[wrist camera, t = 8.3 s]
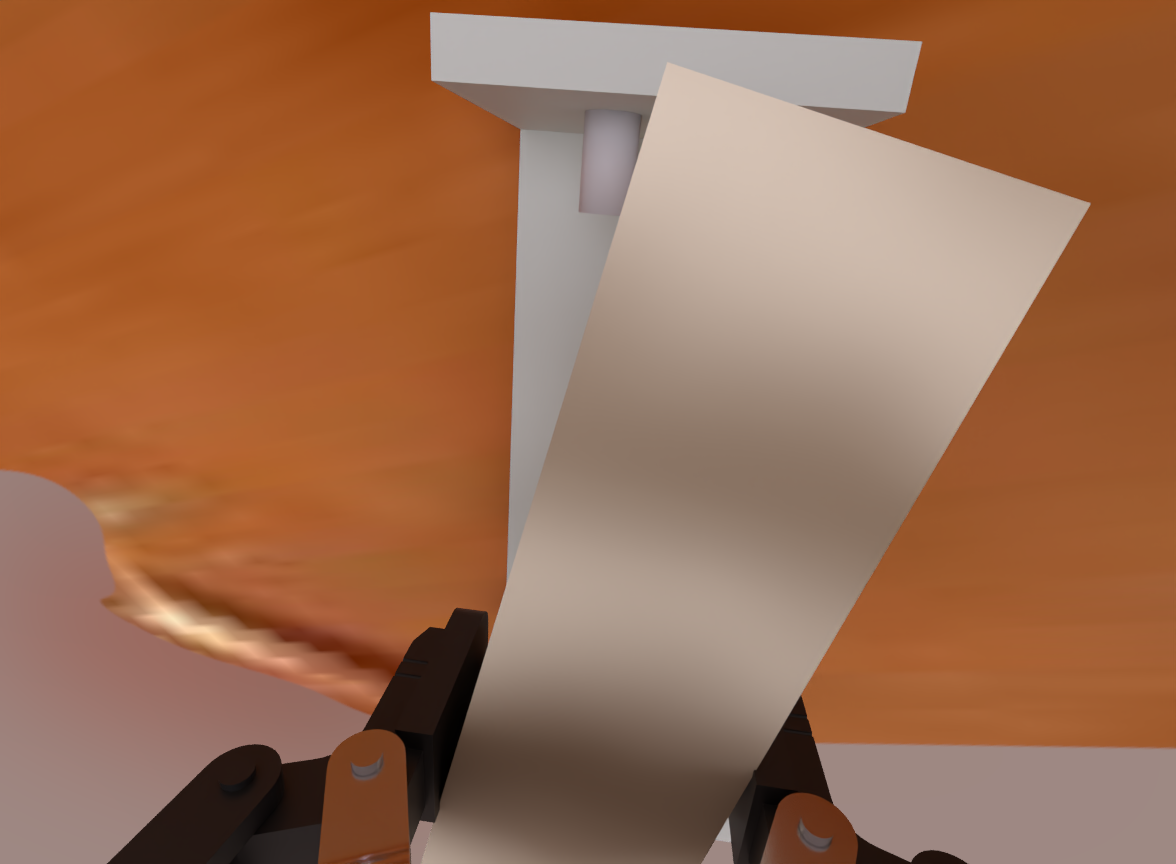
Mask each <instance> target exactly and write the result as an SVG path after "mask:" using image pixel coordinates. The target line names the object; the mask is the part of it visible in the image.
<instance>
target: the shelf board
mask: <svg viewBox="0 0 1176 864" xmlns="http://www.w3.org/2000/svg"><path fill="white" fill-rule="evenodd" d="M1090 204H1091V203H1088V202H1085V201H1082V200H1079V199H1076V198H1073V197H1070V196H1067V195H1064V194H1061V193H1058V192H1055V191H1052V190H1049V189H1046V188H1043V187H1040V186H1037V185H1034V184H1031V183H1028V182H1025V181H1022V180H1019V179H1016V178H1013V177H1010V176H1007V175H1004V174H1001V173H998V172H995V171H992V170H989V169H986V168H983V167H980V166H977V165H974V164H971V163H968V162H965V161H962V160H959V159H956V158H953V157H950V156H947V155H944V154H941V153H938V152H935V151H932V150H929V149H926V148H923V147H920V146H917V145H914V144H911V143H908V142H905V141H902V140H899V139H896V138H893V137H890V136H887V135H884V134H881V133H878V132H875V131H872V130H869V129H866V128H863V127H860V126H857V125H854V124H851V123H848V122H845V121H842V120H839V119H836V118H833V117H830V116H827V115H824V114H821V113H818V112H815V111H812V110H809V109H806V108H803V107H800V106H797V105H794V104H791V103H788V102H785V101H782V100H779V99H776V98H773V97H770V96H767V95H764V94H761V93H758V92H755V91H752V90H749V89H746V88H743V87H740V86H738V85H735V84H732V83H729V82H726V81H723V80H720V79H717V78H714V77H711V76H708V75H705V74H702V73H699V72H696V71H693V70H690V69H687V68H684V67H681V66H678V65H675V64H672V63H669V62H667V64H666V68H665V71H664V74H663V77H662V81H661V84H660V87H659V90H658V94H657V97H656V100H655V103H654V107H653V110H652V113H651V116H650V120H649V123H648V126H647V129H646V133H645V136H644V139H643V142H642V146H641V149H640V152H639V156H638V159H637V162H636V165H635V169H634V172H633V175H632V178H631V182H630V185H629V188H628V191H627V195H626V198H625V201H624V204H623V208H622V211H621V214H620V217H619V221H618V224H617V227H616V230H615V234H614V237H613V240H612V243H611V247H610V250H609V253H608V256H607V260H606V263H605V266H604V269H603V273H602V276H601V279H600V282H599V286H598V289H597V292H596V295H595V299H594V302H593V305H592V308H591V312H590V315H589V318H588V321H587V325H586V328H585V331H584V334H583V338H582V341H581V344H580V348H579V351H578V354H577V357H576V361H575V364H574V367H573V370H572V374H571V377H570V380H569V383H568V387H567V390H566V393H565V396H564V400H563V403H562V406H561V409H560V413H559V416H558V419H557V422H556V426H555V429H554V432H553V435H552V439H551V442H550V445H549V448H548V452H547V455H546V458H545V461H544V465H543V468H542V471H541V474H540V478H539V481H538V484H537V487H536V491H535V494H534V497H533V500H532V504H531V507H530V510H529V513H528V517H527V520H526V523H525V527H524V530H523V533H522V536H521V540H520V543H519V546H518V549H517V553H516V556H515V559H514V562H513V566H512V569H511V572H510V575H509V579H508V582H507V585H506V588H505V592H504V595H503V598H502V601H501V605H500V608H499V611H498V614H497V618H496V621H495V624H494V627H493V631H492V634H491V637H490V640H489V644H488V647H487V650H486V653H485V657H484V660H483V663H482V666H481V670H480V673H479V676H478V679H477V683H476V686H475V689H474V692H473V696H472V699H471V702H470V705H469V709H468V712H467V715H466V719H465V722H464V725H463V728H462V732H461V735H460V738H459V741H458V745H457V748H456V751H455V754H454V758H453V761H452V764H451V767H450V771H449V774H448V777H447V780H446V784H445V787H444V790H443V793H442V797H441V800H440V810H439V813H438V816H437V819H436V822H435V823H433V826H432V829H431V832H430V836H429V839H428V842H427V846H426V849H425V852H424V855H423V859H422V862H421V864H701V863H702V861H703V860H704V858H705V856H706V854H707V853H708V851H709V849H710V848H711V846H712V844H713V843H714V841H715V839H716V838H717V836H718V834H719V832H720V831H721V829H722V827H723V826H724V824H725V822H726V821H727V819H728V817H729V816H730V814H731V812H732V810H733V809H734V807H735V805H736V804H737V802H738V800H739V799H740V797H741V795H742V794H743V792H744V790H745V788H746V787H747V785H748V783H749V782H750V780H751V778H752V775H753V771H754V770H757V768H758V766H759V765H760V763H761V761H762V760H763V758H764V756H765V755H766V753H767V751H768V750H769V748H770V746H771V744H772V743H773V741H774V739H775V738H776V736H777V734H778V733H779V731H780V729H781V727H782V726H783V724H784V722H785V721H786V719H787V717H788V716H789V714H790V712H791V711H792V709H793V707H794V705H795V704H796V702H797V700H798V699H799V697H800V695H801V694H802V692H803V690H804V689H805V687H806V685H807V683H808V682H809V680H810V678H811V677H812V675H813V673H814V672H815V670H816V668H817V667H818V665H819V663H820V661H821V660H822V658H823V656H824V655H825V653H826V651H827V650H828V648H829V646H830V645H831V643H832V641H833V639H834V638H835V636H836V634H837V633H838V631H839V629H840V628H841V626H842V624H843V623H844V621H845V619H846V617H847V616H848V614H849V612H850V611H851V609H852V607H853V606H854V604H855V602H856V600H857V599H858V597H859V595H860V594H861V592H862V590H863V589H864V587H865V585H866V584H867V582H868V580H869V578H870V577H871V575H872V573H873V572H874V570H875V568H876V567H877V565H878V563H879V562H880V560H881V558H882V556H883V555H884V553H885V551H886V550H887V548H888V546H889V545H890V543H891V541H892V540H893V538H894V536H895V534H896V533H897V531H898V529H899V528H900V526H901V524H902V523H903V521H904V519H905V518H906V516H907V514H908V512H909V511H910V509H911V507H912V506H913V504H914V502H915V501H916V499H917V497H918V496H919V494H920V492H921V490H922V489H923V487H924V485H925V484H926V482H927V480H928V479H929V477H930V475H931V474H932V472H933V470H934V468H935V467H936V465H937V463H938V462H939V460H940V458H941V457H942V455H943V453H944V451H945V450H946V448H947V446H948V445H949V443H950V441H951V440H952V438H953V436H954V435H955V433H956V431H957V429H958V428H959V426H960V424H961V423H962V421H963V419H964V418H965V416H966V414H967V413H968V411H969V409H970V407H971V406H972V404H973V402H974V401H975V399H976V397H977V396H978V394H979V392H980V391H981V389H982V387H983V385H984V384H985V382H986V380H987V379H988V377H989V375H990V374H991V372H992V370H993V369H994V367H995V365H996V363H997V362H998V360H999V358H1000V357H1001V355H1002V353H1003V352H1004V350H1005V348H1006V347H1007V345H1008V343H1009V341H1010V340H1011V338H1012V336H1013V335H1014V333H1015V331H1016V330H1017V328H1018V326H1019V324H1020V323H1021V321H1022V319H1023V318H1024V316H1025V314H1026V313H1027V311H1028V309H1029V308H1030V306H1031V304H1032V302H1033V301H1034V299H1035V297H1036V296H1037V294H1038V292H1039V291H1040V289H1041V287H1042V286H1043V284H1044V282H1045V280H1046V279H1047V277H1048V275H1049V274H1050V272H1051V270H1052V269H1053V267H1054V265H1055V264H1056V262H1057V260H1058V258H1059V257H1060V255H1061V253H1062V252H1063V250H1064V248H1065V247H1066V245H1067V243H1068V242H1069V240H1070V238H1071V236H1072V235H1073V233H1074V231H1075V230H1076V228H1077V226H1078V225H1079V223H1080V221H1081V220H1082V218H1083V216H1084V214H1085V213H1086V211H1087V209H1088V208H1089V206H1090Z"/></svg>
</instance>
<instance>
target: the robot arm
mask: <svg viewBox="0 0 1176 864" xmlns="http://www.w3.org/2000/svg"><path fill="white" fill-rule="evenodd" d="M487 647H488V613H487V612H485V611H477V610H470V609H462V608H456V609H455V610H454V612H453V613H452V615H451V617H450V619H449V621H448V623H447V626H446V628H445V629H441V628H433V627H429V628H428V629H427V630H426V631H425V632H423V633H422V634H421V635H420V636H418V637H417V638H416V639H415V640H414V641H413V642H412V644H411V645H410V647H409V649H408V651H407V653H406V654H405V656H404V658H403V662H401V663H400V665H399V667H398V669H397V671H396V673H395V676H393V678H392V680H391V681H390V683H389V685H388V687H387V689H386V690H385V692H384V694H383V696H382V698H381V699H380V701H379V703H378V705H377V707H376V708H375V710H374V712H373V714H372V716H371V717H370V719H369V721H368V723H367V725H366V727H365V728H364V730H363V731H362V732H359V733H357V734H354V735H353V736H351V737H349V738H347V739H346V740H345V741H343V742H342V743H341V744H340V745H339V746H338V747H337V748H336V749H335V750H334V752H333V753H332V755H329V756H326V757H323V758H319V759H313V760H306V761H299V762H292V763H285V764H282V763H281V759H280V756H279V754H278V753H277V752H276V751H275V750H273V749H272V748H270V747H268V746H265V745H256V744H254V745H245V746H241V747H238V748H235V749H232V750H230V751H228V752H226V753H224V754H222V755H220V756H219V757H217V758H216V759H214V760H213V761H212V762H211V763H210V764H209V765H207V766H206V767H205V768H204V769H203V770H202V771H201V772H200V773H199V774H198V775H197V776H196V777H195V778H194V779H193V780H192V781H191V782H190V783H189V784H188V785H187V786H186V787H185V788H184V789H183V790H182V791H181V792H180V793H179V794H178V795H177V796H176V797H175V798H174V799H173V800H172V801H171V802H170V803H169V804H167V806H165V808H164V809H162V811H161V812H159V813H158V814H157V816H155V817H154V818H153V819H152V820H151V821H150V822H149V823H148V824H147V825H146V826H145V827H144V828H143V829H142V830H141V831H140V832H139V833H138V834H137V835H136V836H135V837H134V838H133V839H132V840H131V841H130V842H129V843H128V844H127V845H126V846H125V847H124V848H123V849H122V850H121V851H120V852H119V853H118V854H117V855H116V856H114V857H113V858H112V859H111V860H110V862H108V863H107V864H411V849H410V844H411V842H412V839H413V837H414V834H415V832H416V829H417V826H418V824H419V821H420V820H421V821H427V822H433V823H435V822H436V819H437V816H438V813H439V810H440V800H441V797H442V793H443V790H444V787H445V784H446V780H447V777H448V774H449V771H450V767H451V764H452V761H453V758H454V754H455V751H456V748H457V745H458V741H459V738H460V735H461V732H462V728H463V725H464V722H465V719H466V715H467V712H468V709H469V705H470V702H471V699H472V696H473V692H474V689H475V686H476V683H477V679H478V676H479V673H480V670H481V666H482V663H483V660H484V657H485V653H486V650H487ZM728 818H729V827H730V835H731V843H732V852H733V861H734V864H967V863H966V862H964V861H963V860H961V859H959V858H957V857H955V856H953V855H951V854H948V853H945V852H941V851H934V850H930V851H923V852H921V853H919V854H917V855H916V856H915V857H914V858H913V860H912V862H908V861H906V860H904V859H902V858H900V857H898V856H895V855H893V854H891V853H889V852H886V851H884V850H882V849H880V848H878V847H876V846H874V845H872V844H870V843H868V842H867V841H865V840H864V839H862V838H861V837H860V836H858V835H857V834H856V833H855V831H854V829H853V827H852V825H851V823H850V822H849V820H848V819H847V818H846V816H845V815H844V814H843V813H842V812H841V811H840V810H839V809H838V808H837V807H836V806H834V804H833V802H832V799H831V796H830V793H829V789H828V786H827V782H826V779H825V775H824V772H823V768H822V765H821V762H820V758H819V755H818V752H817V748H816V745H815V741H814V738H813V737H812V731H811V728H810V724H809V721H808V720H807V714H806V711H805V707H804V704H803V700H802V697H801V695H800V697H799V699H798V700H797V702H796V704H795V705H794V707H793V709H792V711H791V712H790V714H789V716H788V717H787V719H786V721H785V722H784V724H783V726H782V727H781V729H780V731H779V733H778V734H777V736H776V738H775V739H774V741H773V743H772V744H771V746H770V748H769V750H768V751H767V753H766V755H765V756H764V758H763V760H762V761H761V763H760V765H759V766H758V768H757V770H754V771H753V775H752V778H751V780H750V782H749V783H748V785H747V787H746V788H745V790H744V792H743V794H742V795H741V797H740V799H739V800H738V802H737V804H736V805H735V807H734V809H733V810H732V812H731V814H730V816H729V817H728Z"/></svg>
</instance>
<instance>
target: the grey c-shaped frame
mask: <svg viewBox="0 0 1176 864" xmlns="http://www.w3.org/2000/svg"><path fill="white" fill-rule="evenodd" d="M430 23H431V80H432V81H433V82H435V83H437V84H439V85H441V86H442V87H444V88H446V89H448V90H450V91H452V92H453V93H455V94H457V95H459V96H461V97H462V98H464V99H466V100H468V101H470V102H472V103H473V104H475V105H477V106H479V107H481V108H483V109H484V110H486V111H488V112H490V113H492V114H493V115H495V116H497V117H499V118H501V119H503V120H504V121H506V122H508V123H510V124H512V125H514V126H515V127H517V128H519V129H521V132H520V164H519V197H518V230H517V263H516V295H515V328H514V361H513V394H512V426H511V459H510V492H509V525H508V557H507V582H508V579H509V575H510V572H511V569H512V566H513V562H514V559H515V556H516V553H517V549H518V546H519V543H520V540H521V536H522V533H523V530H524V527H525V523H526V520H527V517H528V513H529V510H530V507H531V504H532V500H533V497H534V494H535V491H536V487H537V484H538V481H539V478H540V474H541V471H542V468H543V465H544V461H545V458H546V455H547V452H548V448H549V445H550V442H551V439H552V435H553V432H554V429H555V426H556V422H557V419H558V416H559V413H560V409H561V406H562V403H563V400H564V396H565V393H566V390H567V387H568V383H569V380H570V377H571V374H572V370H573V367H574V364H575V361H576V357H577V354H578V351H579V348H580V344H581V341H582V338H583V334H584V331H585V328H586V325H587V321H588V318H589V315H590V312H591V308H592V305H593V302H594V299H595V295H596V292H597V289H598V286H599V282H600V279H601V276H602V273H603V269H604V266H605V263H606V260H607V256H608V253H609V250H610V247H611V243H612V240H613V237H614V234H615V230H616V227H617V224H618V221H619V217H620V214H621V211H622V208H623V204H624V201H625V198H626V195H627V191H628V188H629V185H630V182H631V178H632V175H633V172H634V169H635V165H636V162H637V159H638V156H639V152H640V149H641V146H642V142H643V139H644V136H645V133H646V129H647V126H648V123H649V120H650V116H651V113H652V110H653V107H654V103H655V100H656V97H657V94H658V90H659V87H660V84H661V81H662V77H663V74H664V71H665V68H666V64H667V62H669V63H672V64H675V65H678V66H681V67H684V68H687V69H690V70H693V71H696V72H699V73H702V74H705V75H708V76H711V77H714V78H717V79H720V80H723V81H726V82H729V83H732V84H735V85H738V86H740V87H743V88H746V89H749V90H752V91H755V92H758V93H761V94H764V95H767V96H770V97H773V98H776V99H779V100H782V101H785V102H788V103H791V104H794V105H797V106H800V107H803V108H806V109H809V110H812V111H815V112H818V113H821V114H824V115H827V116H830V117H833V118H836V119H839V120H842V121H845V122H848V123H851V124H854V125H857V126H860V127H863V128H865V127H867V126H870V125H873V124H876V123H878V122H881V121H884V120H886V119H889V118H892V117H895V116H897V115H900V114H903V113H905V111H906V107H907V103H908V99H909V95H910V90H911V86H912V82H913V78H914V74H915V69H916V65H917V61H918V57H919V53H920V49H921V44H922V42H920V41H903V40H886V39H870V38H853V37H836V36H819V35H802V34H785V33H768V32H752V31H735V30H718V29H701V28H684V27H667V26H651V25H634V24H617V23H600V22H583V21H566V20H549V19H533V18H516V17H499V16H482V15H465V14H448V13H432V12H430ZM715 840H719V841H725V842H731V835H730V827H729V818H728V819H727V821H726V822H725V824H724V826H723V827H722V829H721V831H720V832H719V834H718V836H717V838H716V839H715Z"/></svg>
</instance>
